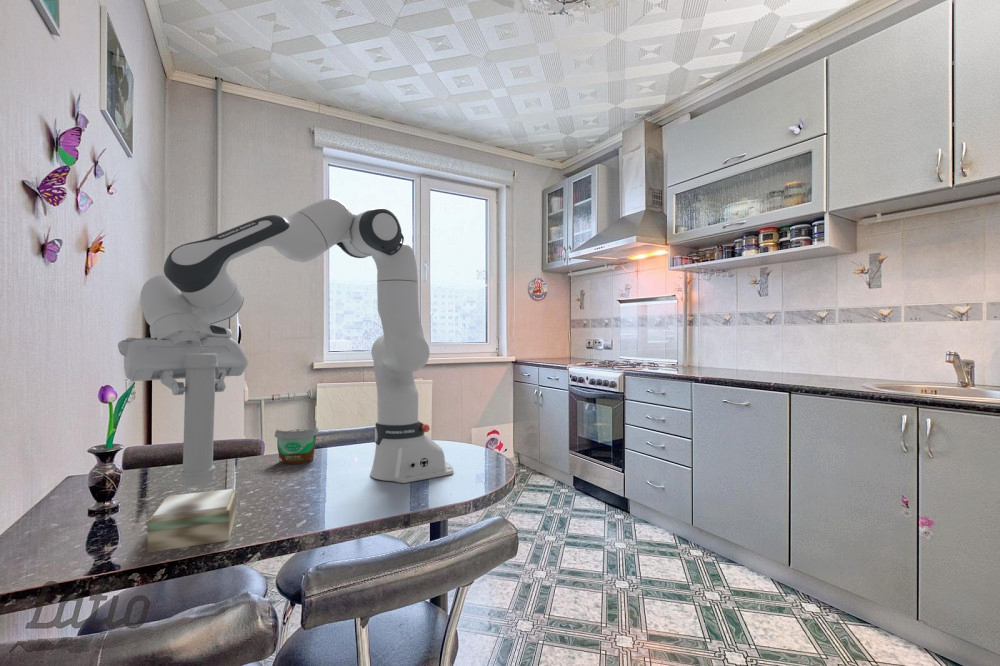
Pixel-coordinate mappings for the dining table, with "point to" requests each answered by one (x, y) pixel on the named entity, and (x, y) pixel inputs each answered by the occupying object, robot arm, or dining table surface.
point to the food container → (296, 446)
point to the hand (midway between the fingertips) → (200, 391)
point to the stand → (192, 520)
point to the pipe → (198, 418)
